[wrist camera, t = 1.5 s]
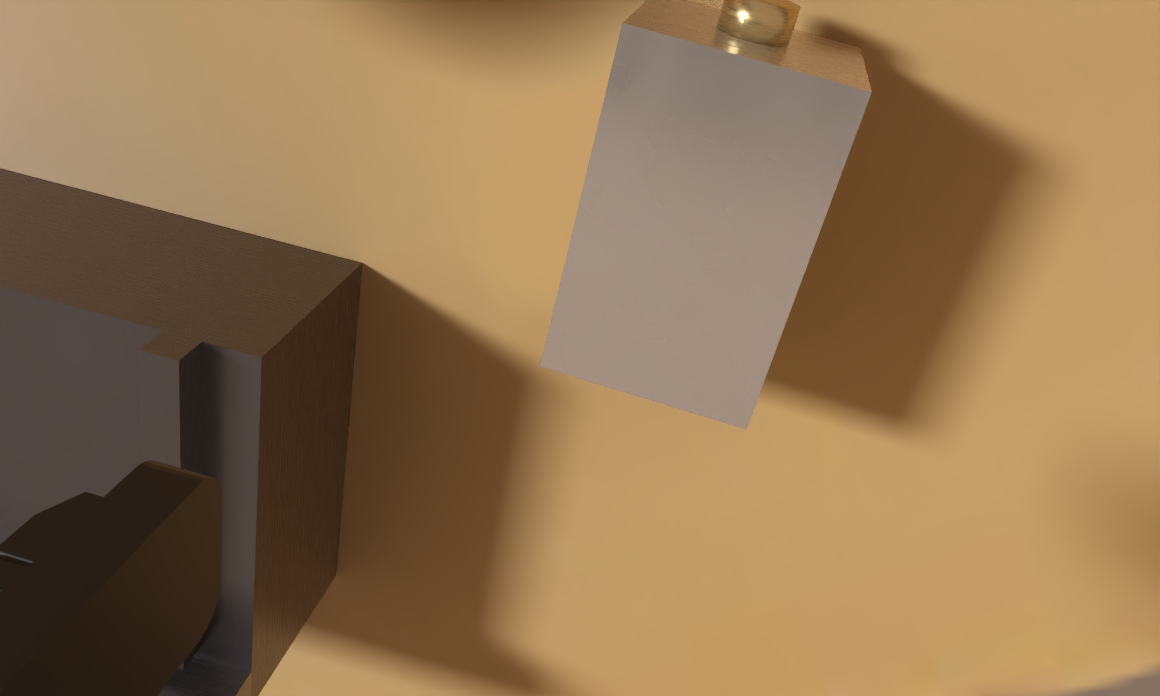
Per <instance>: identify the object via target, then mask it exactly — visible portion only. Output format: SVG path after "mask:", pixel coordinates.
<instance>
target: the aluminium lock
mask: <svg viewBox="0 0 1160 696" xmlns="http://www.w3.org/2000/svg"><path fill="white" fill-rule="evenodd" d="M799 11H800V6H798V5H797V4H795V3H793V2H790V1H788V0H724V2H723V5H722V9H718V8H714V7H711V6H707V5H703V4H700V3H696V2H693V1H689V0H646V1H645V2H644V3H643V4H642V5H641V6H640V7H639V8H638V9H637V10H636V11H635V12H634V13H633V14H631V15H630V16H629V17H628V18H627V19H626V20H625V21H624V22H623V23H622V27H621V32H620V36H619V40H618V44H617V48H616V52H615V57H614V61H613V65H612V69H611V73H610V78H609V82H608V86H607V90H606V94H605V98H604V103H603V107H602V111H601V115H600V119H599V123H598V128H597V132H596V136H595V140H594V144H593V148H592V153H591V157H590V161H589V165H588V169H587V173H586V178H585V182H584V186H583V190H582V194H581V198H580V203H579V207H578V211H577V215H576V219H575V223H574V228H573V232H572V236H571V240H570V244H569V248H568V253H567V257H566V261H565V265H564V269H563V273H562V278H561V282H560V286H559V290H558V294H557V298H556V303H555V307H554V311H553V315H552V319H551V323H550V328H549V332H548V336H547V340H546V344H545V348H544V353H543V357H542V361H541V365H540V367H544V368H547V369H550V370H554V371H557V372H560V373H563V374H567V375H570V376H573V377H576V378H580V379H583V380H586V381H590V382H593V383H596V384H599V385H603V386H606V387H609V388H612V389H616V390H619V391H622V392H626V393H629V394H632V395H635V396H639V397H642V398H645V399H648V400H652V401H655V402H658V403H662V404H665V405H668V406H671V407H675V408H678V409H681V410H684V411H688V412H691V413H694V414H698V415H701V416H704V417H707V418H711V419H714V420H717V421H720V422H724V423H727V424H730V425H733V426H737V427H740V428H743V429H747V426H748V424H749V421H750V418H751V416H752V413H753V410H754V408H755V405H756V402H757V400H758V397H759V394H760V392H761V389H762V386H763V383H764V381H765V378H766V375H767V373H768V370H769V367H770V365H771V362H772V359H773V357H774V354H775V351H776V349H777V346H778V343H779V340H780V338H781V335H782V332H783V330H784V327H785V324H786V322H787V319H788V316H789V314H790V311H791V308H792V306H793V303H794V300H795V297H796V295H797V292H798V289H799V287H800V284H801V281H802V279H803V276H804V273H805V271H806V268H807V265H808V263H809V260H810V257H811V254H812V252H813V249H814V246H815V244H816V241H817V238H818V236H819V233H820V230H821V228H822V225H823V222H824V220H825V217H826V214H827V211H828V209H829V206H830V203H831V201H832V198H833V195H834V193H835V190H836V187H837V185H838V182H839V179H840V177H841V174H842V171H843V169H844V166H845V163H846V160H847V158H848V155H849V152H850V150H851V147H852V144H853V142H854V139H855V136H856V134H857V131H858V128H859V126H860V123H861V120H862V117H863V115H864V112H865V109H866V107H867V104H868V101H869V99H870V96H871V93H872V90H871V86H870V83H869V79H868V75H867V71H866V67H865V64H864V60H863V56H862V52H861V48H860V47H857V46H853V45H849V44H846V43H842V42H839V41H835V40H831V39H828V38H824V37H820V36H817V35H813V34H809V33H806V32H802V31H798V30H795V29H794V26H795V23H796V20H797V17H798V14H799Z"/></svg>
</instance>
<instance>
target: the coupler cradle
mask: <svg viewBox="0 0 1160 696" xmlns="http://www.w3.org/2000/svg"><path fill="white" fill-rule="evenodd" d="M361 268H362V263H359V262H355V261H352V260H348V259H344V258H340V257H336V256H332V255H329V254H325V253H321V252H317V251H313V250H309V249H306V248H302V247H298V246H294V245H290V244H286V243H283V242H279V241H275V240H271V239H267V238H264V237H260V236H256V235H252V234H248V233H244V232H241V231H237V230H233V229H229V228H225V227H221V226H218V225H214V224H210V223H206V222H202V221H198V220H195V219H191V218H187V217H183V216H179V215H175V214H172V213H168V212H164V211H160V210H156V209H153V208H149V207H145V206H141V205H137V204H133V203H130V202H126V201H122V200H118V199H114V198H110V197H107V196H103V195H99V194H95V193H91V192H87V191H84V190H80V189H76V188H72V187H68V186H65V185H61V184H57V183H53V182H49V181H45V180H42V179H38V178H34V177H30V176H26V175H22V174H19V173H15V172H11V171H7V170H3V169H0V544H1V543H2V542H4V541H5V540H6V539H7V538H8V537H9V536H11V535H12V534H13V533H14V532H15V531H16V530H18V529H19V528H20V527H21V526H22V525H23V524H24V523H26V522H27V521H28V520H29V519H30V518H31V517H33V516H34V515H36V514H38V513H40V512H42V511H44V510H46V509H49V508H51V507H53V506H55V505H57V504H60V503H62V502H64V501H66V500H68V499H71V498H73V497H75V496H77V495H79V494H82V493H84V492H88V493H91V494H95V495H98V496H102V497H104V496H105V495H106V494H107V493H109V492H110V491H111V490H112V489H113V488H114V487H115V486H116V485H117V484H118V483H119V482H121V481H122V480H123V479H124V478H125V477H126V476H127V475H128V474H129V473H130V472H131V471H132V470H134V469H135V468H136V467H137V466H138V465H140V464H141V463H143V462H145V461H148V460H154V461H158V462H161V463H165V464H168V465H171V466H175V467H178V468H182V469H185V470H189V471H192V472H196V473H199V474H203V475H206V476H209V477H213V478H216V479H217V480H218V481H219V482H220V484H221V487H222V555H221V588H220V594H219V598H218V602H217V605H216V608H215V611H214V614H213V616H212V619H211V621H210V623H209V625H208V627H207V629H206V631H205V633H204V634H203V636H202V638H201V639H200V641H199V642H198V643H197V645H196V646H195V647H194V649H193V650H192V651H191V653H190V654H189V655H188V656H187V658H186V659H185V660H184V662H183V663H182V664H181V666H180V667H179V668H178V669H177V671H176V672H175V673H174V675H173V676H172V677H171V679H170V680H169V681H168V682H167V684H166V685H165V686H164V688H163V689H162V690H161V692H160V693H159V694H158V696H258V695H259V694H260V692H261V691H262V689H263V687H264V686H265V684H266V683H267V681H268V680H269V678H270V677H271V675H272V673H273V672H274V670H275V669H276V667H277V666H278V664H279V663H280V661H281V660H282V658H283V656H284V655H285V653H286V652H287V650H288V649H289V647H290V646H291V644H292V642H293V641H294V639H295V638H296V636H297V635H298V633H299V632H300V630H301V629H302V627H303V625H304V624H305V622H306V621H307V619H308V618H309V616H310V615H311V613H312V611H313V610H314V608H315V607H316V605H317V604H318V602H319V601H320V599H321V597H322V596H323V594H324V593H325V591H326V590H327V588H328V587H329V585H330V584H331V582H332V580H333V579H334V577H335V576H336V565H337V553H338V541H339V529H340V518H341V506H342V494H343V482H344V470H345V458H346V446H347V434H348V423H349V411H350V399H351V387H352V375H353V363H354V351H355V339H356V328H357V316H358V304H359V292H360V280H361Z"/></svg>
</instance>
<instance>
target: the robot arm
mask: <svg viewBox="0 0 1160 696" xmlns="http://www.w3.org/2000/svg"><path fill="white" fill-rule="evenodd" d="M221 555H222V487H221V484H220V482H219V481H218V480H217V479H216V478H213V477H209V476H206V475H203V474H199V473H196V472H192V471H189V470H185V469H182V468H178V467H175V466H171V465H168V464H165V463H161V462H158V461H154V460H148V461H145V462H143V463H141V464H140V465H138V466H137V467H136V468H135V469H134V470H132V471H131V472H130V473H129V474H128V475H127V476H126V477H125V478H124V479H123V480H122V481H121V482H119V483H118V484H117V485H116V486H115V487H114V488H113V489H112V490H111V491H110V492H109V493H107V494H106V495H105V496H104V497H102V496H98V495H95V494H91V493H88V492H84V493H82V494H79V495H77V496H75V497H73V498H71V499H68V500H66V501H64V502H62V503H60V504H57V505H55V506H53V507H51V508H49V509H46V510H44V511H42V512H40V513H38V514H36V515H34V516H33V517H31V518H30V519H29V520H28V521H27V522H26V523H24V524H23V525H22V526H21V527H20V528H19V529H18V530H16V531H15V532H14V533H13V534H12V535H11V536H9V537H8V538H7V539H6V540H5V541H4V542H2V543H1V544H0V696H158V694H159V693H160V692H161V690H162V689H163V688H164V686H165V685H166V684H167V682H168V681H169V680H170V679H171V677H172V676H173V675H174V673H175V672H176V671H177V669H178V668H179V667H180V666H181V664H182V663H183V662H184V660H185V659H186V658H187V656H188V655H189V654H190V653H191V651H192V650H193V649H194V647H195V646H196V645H197V643H198V642H199V641H200V639H201V638H202V636H203V634H204V633H205V631H206V629H207V627H208V625H209V623H210V621H211V619H212V616H213V614H214V611H215V608H216V605H217V602H218V598H219V594H220V588H221Z"/></svg>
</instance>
